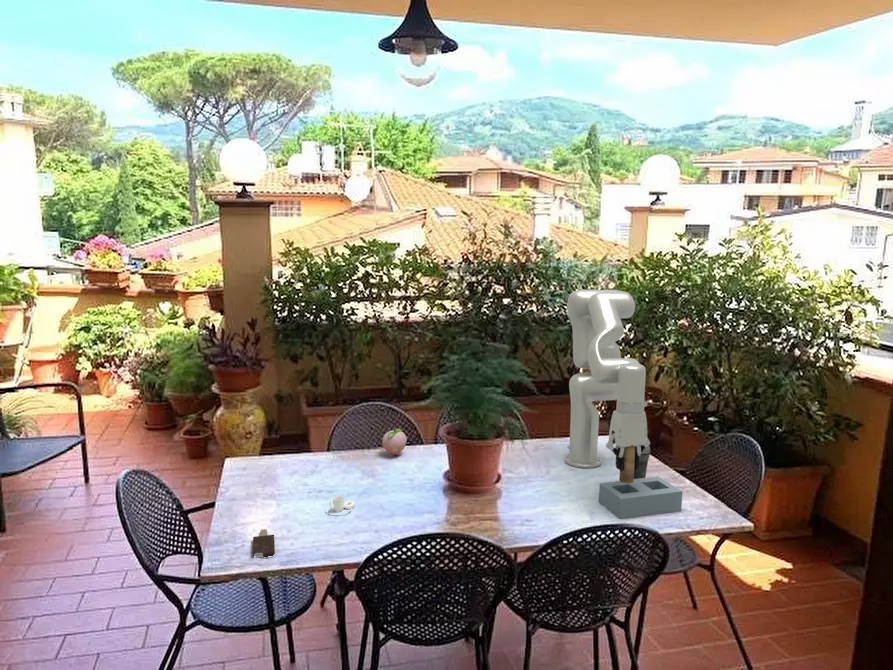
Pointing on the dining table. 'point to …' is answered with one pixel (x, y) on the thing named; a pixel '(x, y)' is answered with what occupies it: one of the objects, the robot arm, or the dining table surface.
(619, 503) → the bore block
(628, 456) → the walnut peg
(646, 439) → the robot arm
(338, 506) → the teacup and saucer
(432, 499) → the dining table surface
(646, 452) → the beverage cup
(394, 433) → the decorative fruit
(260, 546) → the ice cream bar
